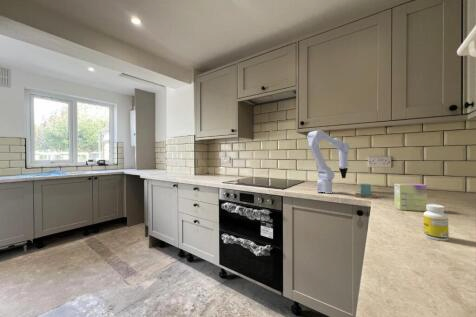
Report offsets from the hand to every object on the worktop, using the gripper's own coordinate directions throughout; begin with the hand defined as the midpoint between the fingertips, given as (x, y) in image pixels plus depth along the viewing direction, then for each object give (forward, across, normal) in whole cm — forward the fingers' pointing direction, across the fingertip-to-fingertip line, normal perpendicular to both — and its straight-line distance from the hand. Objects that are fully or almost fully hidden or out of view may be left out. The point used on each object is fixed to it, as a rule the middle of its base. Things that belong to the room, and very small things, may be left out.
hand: (343, 178), depth 146 cm
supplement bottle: (+10, -80, -30) cm, 86 cm away
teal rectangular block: (+9, -15, -13) cm, 22 cm away
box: (+10, -42, -30) cm, 52 cm away
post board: (+9, -15, -13) cm, 22 cm away
